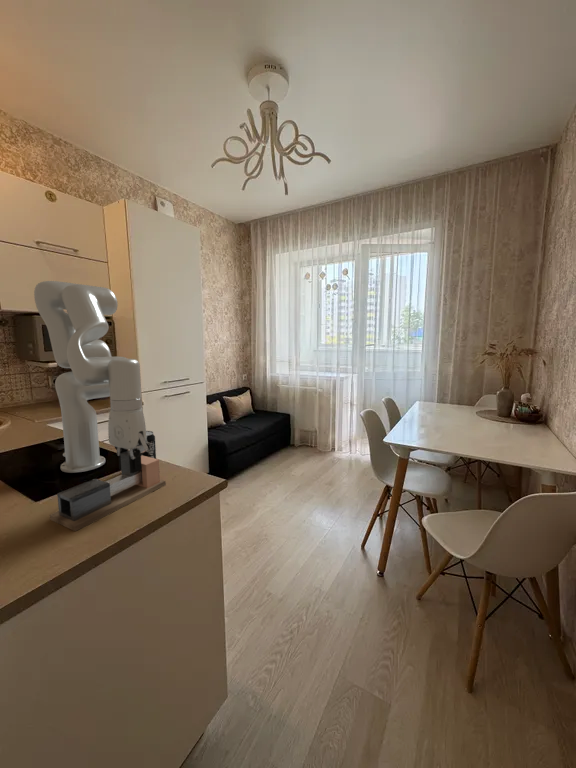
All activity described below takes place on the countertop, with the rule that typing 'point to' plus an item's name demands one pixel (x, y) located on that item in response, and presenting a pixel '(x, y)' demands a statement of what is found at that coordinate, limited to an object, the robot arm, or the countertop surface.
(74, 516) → the sleeve
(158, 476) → the socket block
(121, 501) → the base board
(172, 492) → the countertop surface
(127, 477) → the slide bolt
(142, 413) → the robot arm
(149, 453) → the beverage can
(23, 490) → the countertop surface
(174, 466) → the countertop surface
